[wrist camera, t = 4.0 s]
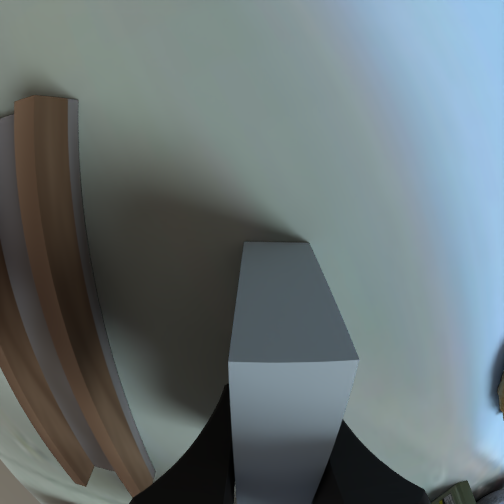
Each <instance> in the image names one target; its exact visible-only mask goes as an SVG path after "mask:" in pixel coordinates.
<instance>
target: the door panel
mask: <svg viewBox="0 0 504 504" xmlns="http://www.w3.org/2000/svg"><path fill="white" fill-rule="evenodd" d="M358 363H359V357H358V355H357V352H356V350H355V347H354V345H353V343H352V340H351V338H350V335H349V333H348V330H347V328H346V326H345V323H344V321H343V318H342V316H341V314H340V311H339V309H338V307H337V304H336V302H335V300H334V297H333V295H332V293H331V290H330V288H329V286H328V283H327V281H326V279H325V277H324V274H323V272H322V270H321V268H320V265H319V263H318V261H317V259H316V257H315V254H314V252H313V250H312V248H311V246H310V243H296V242H244V247H243V254H242V261H241V269H240V276H239V283H238V291H237V298H236V306H235V313H234V321H233V329H232V336H231V344H230V352H229V359H228V368H229V389H230V408H231V426H232V442H233V457H234V472H235V485H236V498H237V504H311V502H312V500H313V498H314V495H315V493H316V490H317V488H318V486H319V483H320V481H321V478H322V476H323V473H324V470H325V468H326V465H327V463H328V460H329V457H330V454H331V452H332V449H333V446H334V443H335V440H336V437H337V434H338V431H339V428H340V425H341V422H342V419H343V416H344V413H345V410H346V406H347V403H348V400H349V396H350V393H351V389H352V386H353V382H354V379H355V375H356V371H357V367H358Z"/></svg>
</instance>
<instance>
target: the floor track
mask: <svg viewBox="0 0 504 504" xmlns="http://www.w3.org/2000/svg"><path fill="white" fill-rule="evenodd" d="M0 367H1V369H2V371H3V373H4V375H5V377H6V379H7V381H8V383H9V385H10V387H11V389H12V391H13V392H14V394H15V396H16V398H17V400H18V401H19V403H20V405H21V407H22V408H23V410H24V412H25V413H26V415H27V417H28V418H29V420H30V421H31V423H32V425H33V426H34V428H35V429H36V431H37V432H38V434H39V435H40V437H41V438H42V440H43V441H44V443H45V444H46V446H47V447H48V448H49V450H50V451H51V453H52V454H53V455H54V457H55V458H56V459H57V461H58V462H59V463H60V465H61V466H62V467H63V469H64V470H65V471H66V472H67V474H68V475H69V476H70V477H71V479H72V480H73V481H74V482H75V483H76V484H79V485H82V486H85V487H86V486H87V483H88V481H89V478H90V476H91V473H92V471H93V468H94V466H96V467H99V468H103V469H107V470H111V471H115V472H116V473H117V475H118V477H119V478H120V480H121V481H122V483H123V484H124V486H125V487H126V489H127V490H128V492H129V493H130V494H131V496H132V497H134V496H136V495H137V494H139V493H140V492H142V491H143V490H145V489H146V488H147V487H149V486H150V485H152V483H153V479H154V476H155V469H154V467H153V465H152V463H151V461H150V458H149V456H148V454H147V451H146V449H145V447H144V444H143V442H142V439H141V437H140V434H139V432H138V429H137V427H136V424H135V422H134V419H133V416H132V414H131V411H130V408H129V405H128V403H127V400H126V397H125V394H124V391H123V388H122V385H121V382H120V379H119V376H118V372H117V369H116V366H115V362H114V359H113V356H112V352H111V349H110V345H109V341H108V338H107V334H106V330H105V326H104V322H103V318H102V314H101V309H100V305H99V300H98V296H97V291H96V286H95V281H94V276H93V271H92V265H91V259H90V253H89V247H88V241H87V234H86V226H85V219H84V210H83V201H82V190H81V178H80V163H79V140H78V100H75V99H67V98H59V97H49V96H39V95H33V96H30V97H27V98H24V99H21V100H18V101H15V103H14V114H12V115H9V116H6V117H3V118H0Z"/></svg>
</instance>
